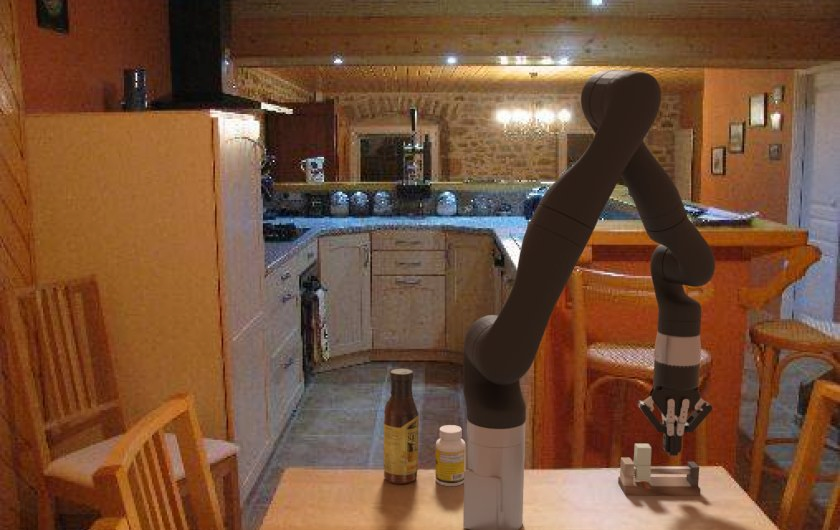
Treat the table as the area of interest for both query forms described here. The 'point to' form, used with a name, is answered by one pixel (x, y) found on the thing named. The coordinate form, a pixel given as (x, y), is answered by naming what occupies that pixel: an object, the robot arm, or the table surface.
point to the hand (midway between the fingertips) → (671, 454)
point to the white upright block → (642, 461)
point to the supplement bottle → (450, 456)
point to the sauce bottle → (401, 430)
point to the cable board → (659, 480)
